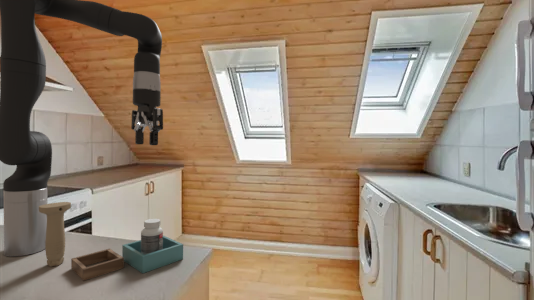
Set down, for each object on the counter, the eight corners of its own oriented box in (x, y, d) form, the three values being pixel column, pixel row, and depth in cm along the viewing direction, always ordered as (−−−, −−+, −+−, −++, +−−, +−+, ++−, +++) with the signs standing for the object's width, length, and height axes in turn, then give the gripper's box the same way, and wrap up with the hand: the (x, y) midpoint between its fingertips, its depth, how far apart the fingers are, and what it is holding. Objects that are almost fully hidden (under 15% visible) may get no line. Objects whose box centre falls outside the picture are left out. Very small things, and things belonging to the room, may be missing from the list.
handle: (35, 266, 68) (34, 206, 68) (64, 257, 74) (64, 201, 73) (45, 271, 66) (45, 208, 65) (74, 261, 72) (74, 203, 71)
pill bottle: (164, 258, 73) (164, 221, 73) (142, 263, 70) (142, 224, 70) (160, 251, 78) (160, 216, 77) (139, 255, 75) (139, 219, 74)
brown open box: (71, 268, 68) (71, 258, 67) (109, 257, 74) (109, 248, 74) (83, 280, 62) (83, 269, 62) (123, 267, 69) (123, 257, 69)
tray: (122, 259, 73) (122, 244, 73) (161, 248, 82) (161, 234, 81) (142, 273, 66) (142, 256, 66) (183, 259, 75) (183, 244, 74)
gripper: (123, 90, 84) (122, 144, 84) (146, 84, 75) (145, 145, 75) (147, 93, 89) (146, 144, 90) (171, 89, 80) (171, 145, 81)
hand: (146, 144), depth 82 cm, fingers open, 8 cm apart
